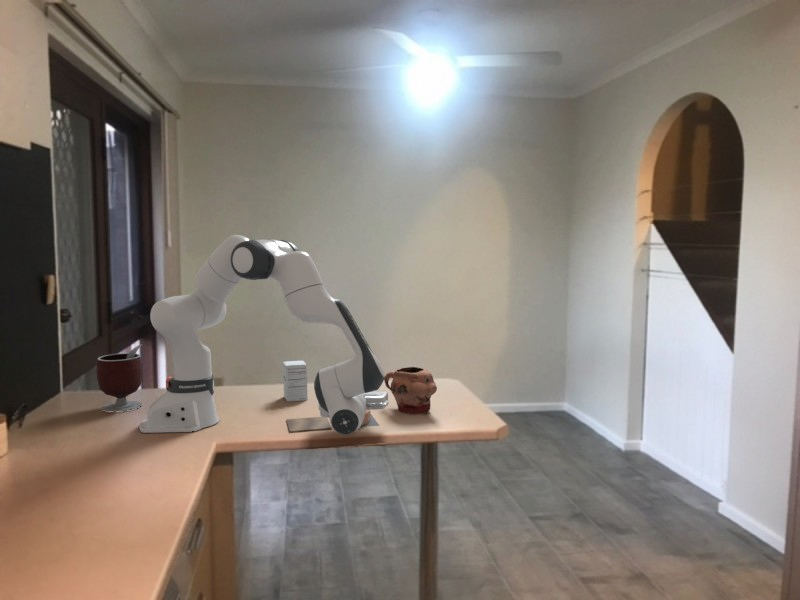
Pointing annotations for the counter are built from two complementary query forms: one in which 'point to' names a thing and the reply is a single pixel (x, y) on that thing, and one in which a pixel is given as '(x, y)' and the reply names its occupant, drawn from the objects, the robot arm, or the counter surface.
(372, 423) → the slate mat
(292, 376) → the supplement box
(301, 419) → the walnut coaster
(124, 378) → the mate gourd
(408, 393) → the sculpted character mug
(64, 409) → the counter surface
